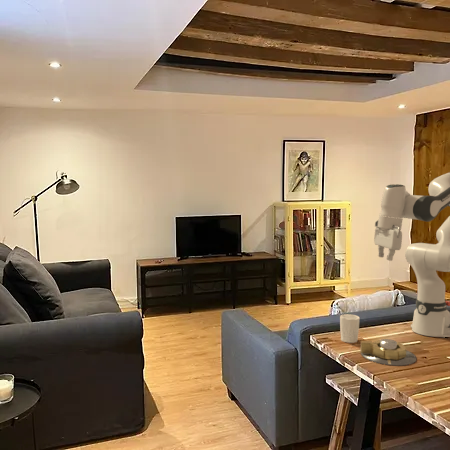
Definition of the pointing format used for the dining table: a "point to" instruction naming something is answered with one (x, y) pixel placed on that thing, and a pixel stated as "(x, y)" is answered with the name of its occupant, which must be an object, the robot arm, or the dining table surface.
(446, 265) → the robot arm
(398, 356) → the ring nut
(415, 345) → the dining table surface
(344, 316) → the white cup
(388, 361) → the hub plate
